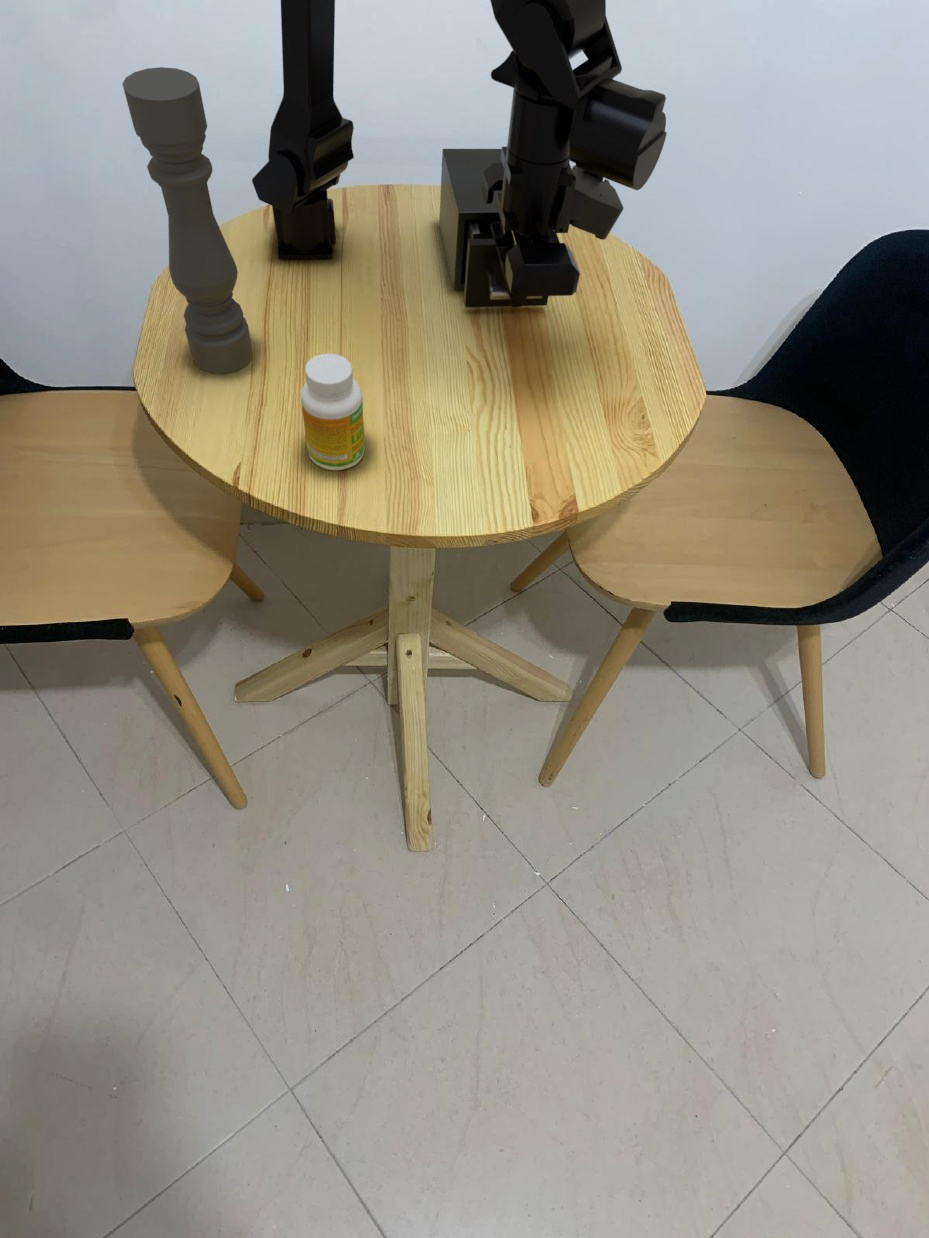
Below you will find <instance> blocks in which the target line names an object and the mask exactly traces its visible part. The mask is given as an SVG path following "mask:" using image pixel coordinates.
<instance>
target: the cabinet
mask: <svg viewBox="0 0 929 1238" xmlns="http://www.w3.org/2000/svg"><path fill="white" fill-rule="evenodd" d="M501 151H502V148H442V152H441V153H442V154H441V172H440V173H441V175H440V177H441V179H440V196H439V197H440V198H439V201H440V202H439V223H438V225H439V230H440V234H441V239H442V244H443V248H444V252H445V256H446V262H447V266H448V271H449V274H450V279H451V283H452V288H453V291H464V288H465V276H464V271H463V267H462V260H463V246H464V231H465V220H469V219H500V215H499V212H498V208H497V205H496V198H497V192H502V191H494V196H493V201H492V203H491V204H485V200H484V197H483V193H482V182H483V172H484V171H485V170H486V169H487V168H488V167H489V166H490V165H491V164H492V163H502V161H501Z"/></svg>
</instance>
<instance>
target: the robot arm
mask: <svg viewBox="0 0 929 1238" xmlns="http://www.w3.org/2000/svg"><path fill="white" fill-rule="evenodd" d="M606 1H607V0H490V5H491V9H492V12H493V17H494V19H495V22H496V24H497V25H498V27H499V28H500V30H501V31H502V34H503V36H504V37H505V39H506V41H507V42H508V44H509V46H510V48H511V49H512V50H511V51H510V53H509V54H508V56H507V57H506V59H505V60H504V61H503V62H502V63H501V64H499V65H498V66H497V67H495V68H494V69H492V70H491V72H490V78H491V79H492V80H493V81H494V82H497V83H500V84H502V85H505V86H508V87H510V88H513V91H512V101H511V106H510V107H511V108H510V109H511V110H510V117H509V126H508V128H509V129H508V135H507V143H506V146H501V149H502V151H501V161H502V163H492V164H491V165H490V166H489V167H488V168H487V169H486V170H485V171H484V172H483V182H482V193H483V197H484V200H485V204H491V203H492V201H493V196H494V191H502V192H497V198H496V205H497V208H498V212H499V215H500V221H499V222H493V223H492V224H491V230H492V234H493V237H494V241H495V245H496V249H497V252H498V256H499V260H500V264H501V267H502V271H503V275H504V278H505V282H506V286H507V290H508V293H509V297H510V301H511V305H512V306H511V307H512V308H522V307H524V306H523V304H524V302H525V300H526V298H527V296H548V297H564V296H567V297H569V296H570V297H571V296H573V295H574V294H576V292H577V289H578V285H579V280H580V276H581V272H580V269H579V266H578V264H577V261H576V259H575V256H574V253H573V251H572V250H571V248H570V247H569V246H568V245H567V244H566V243H565V242H561V241H560V239H559V237H558V236H559V235H558V234H568V233H569V229H570V225H571V226H572V227H574V228H576V229H579V230H581V231H583V232H587V233H590V234H592V235H594V237H595V238H596V239H599V240H603V241H604V240H607V237H608V236H609V234H610V233H611V231H612V230H613V227H614V226H615V224H616V222H617V221H618V219H619V218H620V216H621V214H622V213H623V211H624V206H623V203H622V201H621V198H620V196H619V195H618V192H617V190H616V189H615V187H614V186H612V185H611V183H610V182H611V181H612V182H613V183H614V182H615V183H617V184H619V185H622V186H624V187H627V188H630V189H632V190H634V191H639V190H641V189H642V188H643V187H644V186H645V184H647V182H648V181H649V179H650V177H651V176H652V174H653V172H654V170H655V168H656V166H657V164H658V161H659V159H660V156H661V154H662V152H663V148H664V145H665V142H666V139H667V135H668V134H667V133H668V132H667V131H666V126H667V115H666V114H665V112H663V111H664V107H665V104H666V100H667V97H666V95H665V94H664V93H662V92H658V91H656V90H653V89H652V90H651V89H642V88H638V87H636V86H633V85H630V84H627V83H624V82H622V81H618V80H616V79H614V78H616V77H617V76H619V74H621V73H622V70H623V67H622V64H621V60H620V57H619V54H618V51H617V47H616V43H615V41H614V37H613V35H612V31H611V27H610V24H609V21H608V18H607V9H606V8H607V2H606ZM335 13H336V0H280V25H281V54H282V55H281V57H282V58H281V59H282V82H283V83H282V84H283V93H282V99H281V101H280V103H279V106H278V108H277V111H276V113H275V116H274V118H273V121H272V123H271V126H270V130H269V131H270V132H269V144H268V156H267V157H268V160H267V162H266V164H264V165H263V167H262V168H261V169H260V170H259V171H258V172H257V173H256V174H255V175H254V176H253V177H252V179H251V182H252V185H253V188H254V191H255V193H256V196H257V198H258V200H259V201H261V202H263V203H265V204H267V205H269V206H271V208H272V217H273V223H274V230H275V238H276V239H275V240H276V258H278V259H279V260H296V259H297V260H300V259H303V260H304V259H305V260H307V259H311V260H312V259H332V258H333V257H334V248H333V246H335V245H336V244H337V236H336V221H335V219H336V218H335V208H334V200H333V198H328V197H329V196H328V190H329V189H330V188H332V187H333V186H334V187H335V186H336V185H338V184H339V182H340V177H341V174H342V173H344V172H345V171H346V170H347V168H348V165H349V162H350V161H351V160H354V158H355V156H354V152H353V151H354V150H353V144H352V143H353V142H352V140H353V134H354V129H355V126H354V122H353V120H351V119H348V118H345V117H343V114H342V113H341V111H340V108H339V107H338V105H337V103H336V101H335V99H334V84H335V83H334V82H335V81H334V78H335V77H334V76H335V24H336V23H335V22H336V21H335V19H336V14H335ZM582 52H583V54H584V55H585V57H586V60H585V61H583V62H582V63H581V64H579V65H578V66H576V67H575V68H574V69H573V66H572V64H571V61H570V60H571V59H573V58H574V57H576V56H577V55H578V54H580V53H582ZM570 162H571V163H575V165H573V166H572V165H571V163H570Z"/></svg>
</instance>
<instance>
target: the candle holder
mask: <svg viewBox="0 0 929 1238" xmlns="http://www.w3.org/2000/svg"><path fill="white" fill-rule="evenodd" d="M200 86H201V85H200V82H199V80H198V78H197V76H195V75H194V74H192V73H191V72H189V71H186V70H183V69H179V68H175V67H164V66H163V67H162V66H161V67H160V66H159V67H149V68H145V69H144V68H143V69H141V70H136V71H134V72H132V73H131V74H129V75H127V76H126V77H125V79H124V80H123V82H122V88H123V91H124V95H125V100H126V103H127V107H128V110H129V115H130V119H131V122H132V126H133V129H134V132H135V135H136V136H137V137H139V139H140V141H141V144H142V146H143V147H144V148H145V149H146V150H147V151H148V152H149V155H150V156H151V158H150V159H149V162H148V164H147V166H146V169H147V171H148V174H149V176H150V179H151V180H152V181H153V182H155V183H156V184H158V186H159V187H160V189H161V193H162V196H163V201H164V205H165V209H166V213H167V216H168V217H167V218H168V219H167V220H168V221H167V222H168V271H169V274H170V275H169V276H170V278H171V281H172V284H173V285H174V287H175V289H176V290H177V291H178V292H179V293H180V294H181V295H182V296H183V297H184V298H185V300H186V302H187V303H188V304H187V305H186V307H185V309H184V312H183V319H184V322H185V326H184V332H185V336H186V340H187V344H188V347H189V351H190V355H191V358H192V361H193V364H194V365H195V366H196V367H197V368H199V369H200V370H201V371H204V372H206V373H210V374H216V375H218V374H220V375H225V374H231V373H235V372H238V371H240V370H242V369H244V368H246V366H248V364H249V363H250V362H252V360H253V355H254V349H253V344H252V340H251V339H252V338H251V333H250V329H249V324H248V322H247V319H246V317H245V316H244V312H243V309H242V307H241V304H239V303H238V302H237V301H236V300H235V299H234V298H233V296H234V293H233V291H234V289H235V288H236V283H237V280H238V275H239V274H238V273H239V271H238V268H237V267H238V266H237V264H236V261H235V259H234V257H233V254H232V253H231V251H230V249H229V246H228V244H227V242H226V239H225V237H224V235H223V232H222V230H221V228H220V226H219V224H218V221H217V219H216V217H215V214H214V210H213V206H212V205H213V204H212V201H211V200H212V199H211V195H210V191H209V185H208V182H209V180H210V178H211V176H212V173H213V164H212V162H211V160H210V158H209V157H208V156H206V155H204V154H203V150H204V143H205V141H206V138H207V135H206V131H207V129H208V122H207V117H206V113H205V107H204V102H203V97H202V96H203V95H202V92H201V87H200Z"/></svg>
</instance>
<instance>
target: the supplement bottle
mask: <svg viewBox="0 0 929 1238" xmlns="http://www.w3.org/2000/svg"><path fill="white" fill-rule="evenodd" d="M304 368H305V369H304V372H305V382H304V383H303V385H302V388H301V391H300V404H301V412H302V419H303V426H304V433H305V441H306V448H307V453H308V456H309V458H310V460H311V462H313V463H314V464H315V465H317V466H318V467H320V468H322V469H325V470H328V471H341V470H347V469H350V468H351V467H354V466H356V465H357V464H358V463H359V462H360V461H361V460H362V458H363V457H364V454H365V449H366V448H365V447H366V446H365V425H364V422H365V421H364V406H363V404H364V403H363V392H362V389H361V387H360V385H359V383H358V382H357V381H356V380H355V379H354V372H353V366H352V363H351V362H350V361H349V360H348V359H347V358H346V357H344V356H342V355H339V354H336V353H321V354H318V355H315V356H314V357H311V358H310V359H309V360H308V361H307V363H306V364H305V367H304Z"/></svg>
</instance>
